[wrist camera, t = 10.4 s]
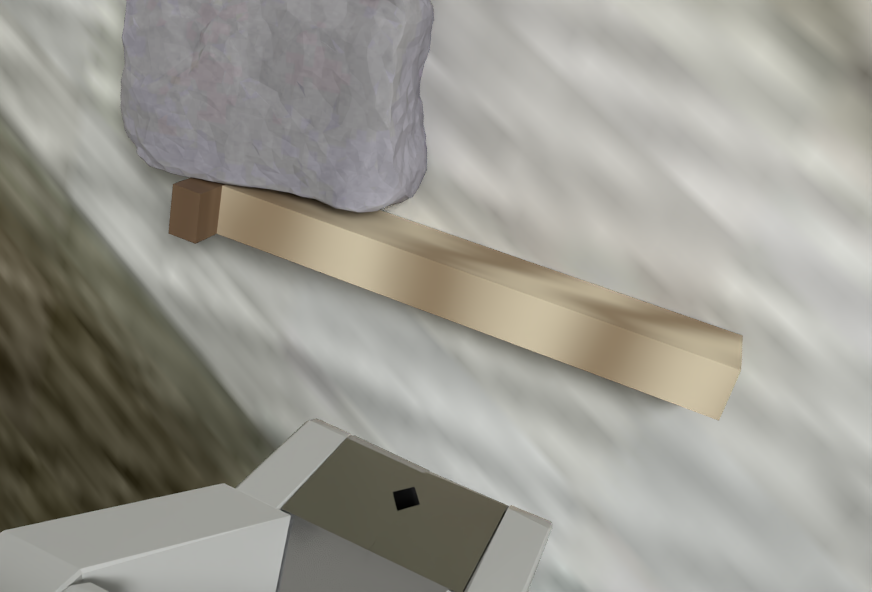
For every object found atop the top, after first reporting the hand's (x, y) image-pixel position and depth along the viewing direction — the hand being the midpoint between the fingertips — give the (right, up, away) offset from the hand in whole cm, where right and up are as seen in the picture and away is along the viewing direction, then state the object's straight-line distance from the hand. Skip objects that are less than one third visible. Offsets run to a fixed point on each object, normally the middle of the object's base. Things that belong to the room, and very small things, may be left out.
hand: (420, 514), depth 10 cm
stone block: (-5, +12, +23) cm, 26 cm away
